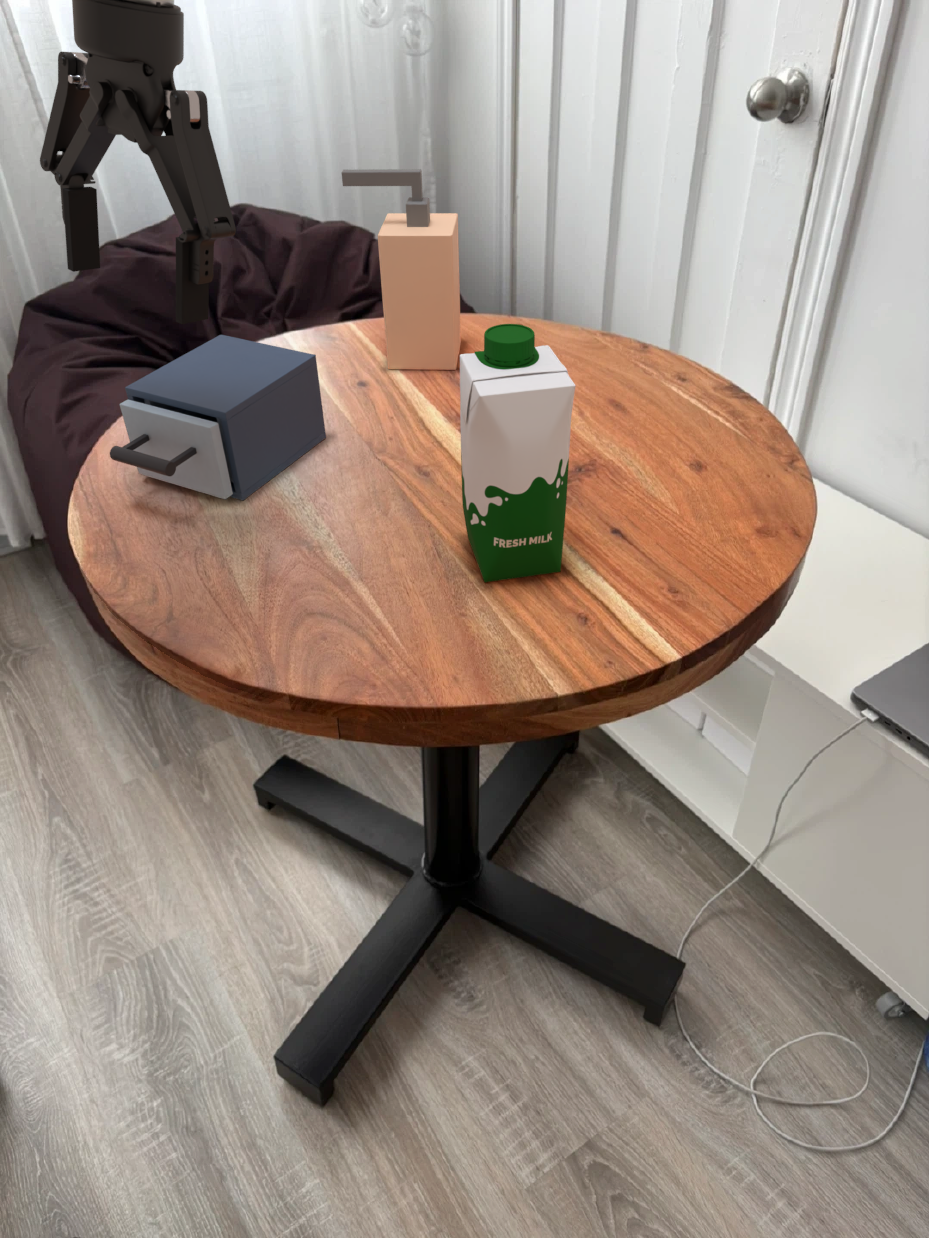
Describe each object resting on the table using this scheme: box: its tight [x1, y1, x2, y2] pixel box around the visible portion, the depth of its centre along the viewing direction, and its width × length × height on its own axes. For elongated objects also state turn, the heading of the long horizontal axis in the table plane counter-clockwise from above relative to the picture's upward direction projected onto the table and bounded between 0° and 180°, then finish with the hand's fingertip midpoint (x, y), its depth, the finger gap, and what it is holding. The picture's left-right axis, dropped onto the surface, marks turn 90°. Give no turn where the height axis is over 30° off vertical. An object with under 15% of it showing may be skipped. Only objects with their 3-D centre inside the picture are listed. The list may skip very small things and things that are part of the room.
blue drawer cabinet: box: [124, 334, 327, 502], centre depth 96 cm, size 15×13×10 cm
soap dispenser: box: [341, 168, 462, 371], centre depth 112 cm, size 13×9×22 cm
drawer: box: [109, 399, 233, 500], centre depth 93 cm, size 18×11×8 cm, turn 152°
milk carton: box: [459, 323, 577, 583], centre depth 77 cm, size 9×9×20 cm
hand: (136, 294), depth 78 cm, fingers open, 13 cm apart
